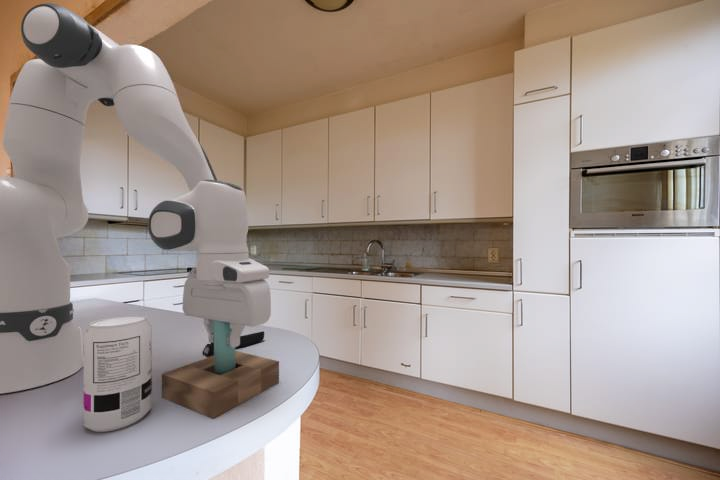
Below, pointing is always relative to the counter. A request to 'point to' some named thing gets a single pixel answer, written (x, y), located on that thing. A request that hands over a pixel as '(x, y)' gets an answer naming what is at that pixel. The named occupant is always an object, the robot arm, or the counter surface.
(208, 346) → the electric trimmer
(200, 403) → the socket block
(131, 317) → the supplement can
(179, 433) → the counter surface
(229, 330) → the peg
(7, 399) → the counter surface
